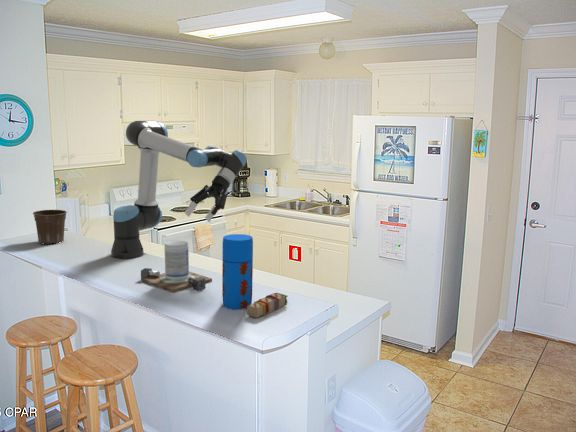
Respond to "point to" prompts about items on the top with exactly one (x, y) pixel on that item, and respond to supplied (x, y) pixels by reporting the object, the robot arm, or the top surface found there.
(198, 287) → the shaft
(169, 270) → the supplement tub
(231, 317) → the top surface
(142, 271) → the shaft
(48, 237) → the plant pot
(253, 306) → the skewer
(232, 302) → the thermos
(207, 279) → the board
